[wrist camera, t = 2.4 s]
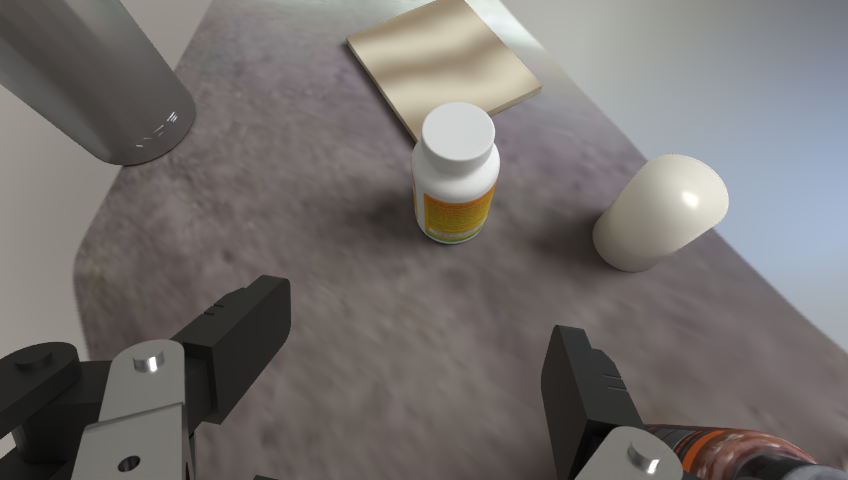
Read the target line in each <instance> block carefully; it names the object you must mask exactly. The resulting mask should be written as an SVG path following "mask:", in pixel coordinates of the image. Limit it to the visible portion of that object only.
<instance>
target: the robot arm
mask: <svg viewBox="0 0 848 480" xmlns="http://www.w3.org/2000/svg"><path fill="white" fill-rule="evenodd" d="M0 84H1V85H2V86H4V87H5V88H6V89H8V90H9V91H10V92H12V93H13V94H14V95H16V96H17V97H18V98H19V99H21V100H22V101H23V102H25V103H26V104H27V105H29V106H30V107H31V108H32V109H34V110H35V111H36V112H38V113H39V114H41V115H42V116H43V117H44V118H46V119H47V120H48V121H49V122H51V123H52V124H53V125H54V126H56V127H57V128H58V129H60V130H61V131H62V132H63V133H65V134H66V135H67V136H69V137H70V138H71V139H73V140H74V141H75V142H77V143H78V144H79V145H81V146H82V147H83V148H84V149H86V150H87V151H88V152H90V153H91V154H92V155H94V156H95V157H96V158H98V159H100V160H102V161H104V162H107V163H110V164H114V165H133V164H140V163H143V162H147V161H150V160H152V159H155V158H157V157H159V156H161V155H163V154H164V153H166V152H168V151H169V150H171V149H172V148H173V147H174V146H176V145H177V144H178V143H179V142H180V141H181V140H182V139H183V137H184V136H185V135H186V134H187V132H188V131H189V129H190V127H191V125H192V123H193V119H194V115H195V104H194V101H193V98H192V96H191V95H190V94H189V92H188V91H187V90H186V88H185V87H184V86H183V84H182V83H181V82H180V80H179V79H178V78H177V76H176V75H175V74H174V72H173V71H172V70H171V68H170V67H169V66H168V64H167V63H166V62H165V60H164V59H163V57H162V56H161V55H160V53H159V52H158V51H157V49H156V48H155V47H154V45H153V44H152V43H151V41H150V40H149V39H148V37H147V36H146V35H145V33H144V32H143V31H142V29H141V28H140V27H139V25H138V24H137V23H136V22H135V20H134V19H133V18H132V16H131V15H130V14H129V12H128V11H127V10H126V8H125V7H124V6H123V4H122V3H121V2H120V0H0ZM290 327H291V298H290V282H289V280H288V279H285V278H279V277H274V276H268V275H262V276H260V277H259V278H258V279H256V280H255V281H254V282H253V283H252V284H251V285H249V286H248V287H247V288H240V289H238V290H236V291H233V292H231V293H229V294H226V295H225V296H223V297H222V298H221V299H220V300H218V301H217V302H216V303H215V304H214V306H211V307H210V308H208V309H207V310H206V311H205V312H204V314H201V315H200V316H198V317H197V318H196V319H195V320H193V321H192V322H191V323H190V324H188V325H187V326H186V327H185V328H183V329H182V330H181V331H180V332H178V333H177V334H176V335H175V336H173V337H172V338H171V339H170V340H163V339H161V340H151V341H146V342H143V343H139V344H136V345H134V346H132V347H130V348H127V349H126V350H124V351H123V352H121V353H120V354H119V355H117V356H116V357H115V358H114V360H110V361H86V362H80V361H79V357H78V353H77V349H76V348H75V347H74V346H73V345H72V344H69V343H64V342H48V343H42V344H37V345H32V346H29V347H26V348H23V349H20V350H18V351H15V352H13V353H11V354H9V355H7V356H5V357H4V358H2V359H0V439H2V438H3V437H4V436H6V435H7V434H8V433H9V432H12V435H13V438H14V441H15V443H16V447H15V448H13V449H12V450H11V451H10V452H9V453H7V454H6V455H5V456H4V457H2V458H1V459H0V480H198V475H197V450H196V434H195V429H196V428H197V427H198V425H199V424H200V423H201V422H202V421H205V422H209V423H214V424H219V425H220V424H221V423H222V422H223V421H224V419H225V418H226V417H227V415H228V414H229V413H230V412H231V410H232V409H233V408H234V407H235V405H236V404H237V403H238V401H239V400H240V399H241V398H242V396H243V395H244V394H245V393H246V391H247V390H248V389H249V387H250V386H251V385H252V384H253V382H254V381H255V380H256V379H257V377H258V376H259V375H260V373H261V372H262V371H263V370H264V368H265V367H266V366H267V365H268V363H269V362H270V361H271V359H272V358H273V357H274V356H275V354H276V353H277V352H278V351H279V349H280V348H281V347H282V345H283V344H284V343H285V341H286V339H287V337H288V335H289V331H290ZM541 392H542V397H543V402H544V408H545V413H546V418H547V423H548V429H549V434H550V439H551V445H552V450H553V455H554V461H555V466H556V471H557V476H558V480H704V479H702V478H700V477H697V476H695V475H693V474H691V473H689V472H687V471H685V470H683V468H682V465H681V462H680V460H679V459H678V457H677V456H676V454H675V453H674V452H673V451H672V449H671V448H670V447H669V446H668V445H666V444H665V443H664V442H663V441H662V440H660V439H659V438H657V437H656V436H654V435H652V434H650V433H648V432H647V431H646V429H645V427H644V425H643V422H642V420H641V418H640V416H639V414H638V412H637V410H636V408H635V406H634V403H633V401H632V399H631V397H630V395H629V393H628V392H626V387H625V384H624V382H623V380H621V376H620V374H619V372H618V370H617V368H616V365H615V363H614V362H613V361H612V360H611V359H610V358H609V357H608V356H607V355H606V354H605V353H604V352H603V351H602V350H598V349H592V348H591V345H590V343H589V341H588V338H587V336H586V333H585V331H584V330H583V329H579V328H573V327H567V326H561V325H555V327H554V329H553V332H552V335H551V339H550V342H549V346H548V350H547V354H546V357H545V361H544V365H543V369H542V375H541ZM253 480H277V479H273V478H268V477H263V476H259V475H256V476H255V478H254V479H253ZM736 480H762V479H758V478H754V477H739V478H737V479H736Z"/></svg>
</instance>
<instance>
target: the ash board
mask: <svg viewBox="0 0 848 480" xmlns="http://www.w3.org/2000/svg"><path fill="white" fill-rule="evenodd" d="M346 40H347V45H348V46H349V48H350V49H351V50H352V52H353V53H354V55H355V56H356V58H357V59H358V60H359V62H360V63H361V65H362V66H363V68H364V69H365V70H366V72H367V73H368V75H369V76H370V78H371V79H372V81H373V82H374V83H375V85H376V86H377V88H378V89H379V91H380V92H381V93H382V95H383V96H384V98H385V99H386V101H387V102H388V103H389V105H390V106H391V108H392V109H393V111H394V112H395V114H396V115H397V116H398V118H399V119H400V121H401V122H402V124H403V125H404V126H405V128H406V129H407V131H408V132H409V134H410V135H411V136H412V138H413V139H414V141H415V142H416V144H417V142H418V141H419V139H420V138H421V129H422V124H423V122H424V120H425V118H426V116H427V115H428V114H429V113H430V112H431V111H432V110H433V109H435V108H436V107H438V106H440V105H443V104H446V103H451V102H464V103H469V104H472V105H475V106H477V107H479V108H480V109H482V110H483V111H484V112H486V113H487V114H488V116H489V117H490V116H493V115H495V114H497V113H499V112H501V111H503V110H505V109H507V108H509V107H511V106H513V105H515V104H517V103H519V102H521V101H523V100H525V99H527V98H530V97H532V96H534V95H536V94H538V93H540V92H541V89H542V86H543V85H542V84H541V83H540V82H539V81H538V80H537V79H536V77H535V76H534V75H533V74H532V73H531V72H530V71H529V70H528V69H527V68H526V67H525V66H524V64H523V63H522V62H521V61H520V60H519V59H518V58H517V57H516V56H515V55H514V54H513V53H512V52H511V50H510V49H509V48H508V47H507V46H506V45H505V44H504V43H503V42H502V41H501V40H500V39H499V37H498V36H497V35H496V34H495V33H494V32H493V31H492V30H491V29H490V28H489V27H488V26H487V25H486V23H485V22H484V21H483V20H482V19H481V18H480V17H479V16H478V15H477V14H476V13H475V12H474V10H473V9H472V8H471V7H470V6H469V5H468V4H467V3H466V2H465V1H464V0H436V1H433V2H431V3H428V4H426V5H423V6H421V7H419V8H416V9H414V10H411V11H409V12H406V13H404V14H402V15H399V16H397V17H394V18H392V19H389V20H387V21H384V22H382V23H380V24H377V25H375V26H372V27H370V28H367V29H365V30H362V31H360V32H358V33H355V34H353V35H350V36H348V37H346Z"/></svg>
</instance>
